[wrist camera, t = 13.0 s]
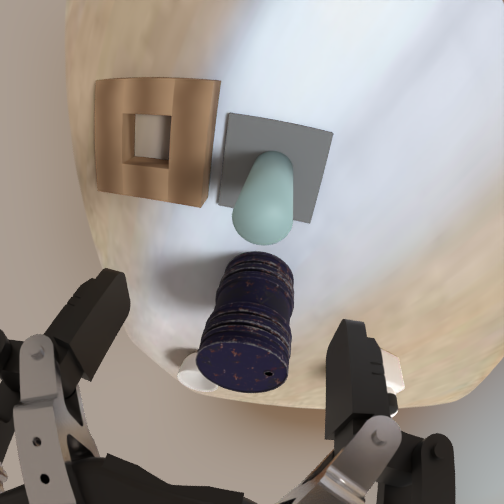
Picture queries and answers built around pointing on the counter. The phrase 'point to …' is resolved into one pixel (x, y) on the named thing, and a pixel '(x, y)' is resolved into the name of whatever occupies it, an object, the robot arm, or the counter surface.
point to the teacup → (194, 376)
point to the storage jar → (249, 326)
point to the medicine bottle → (392, 379)
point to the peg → (266, 200)
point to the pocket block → (181, 137)
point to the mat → (282, 140)
